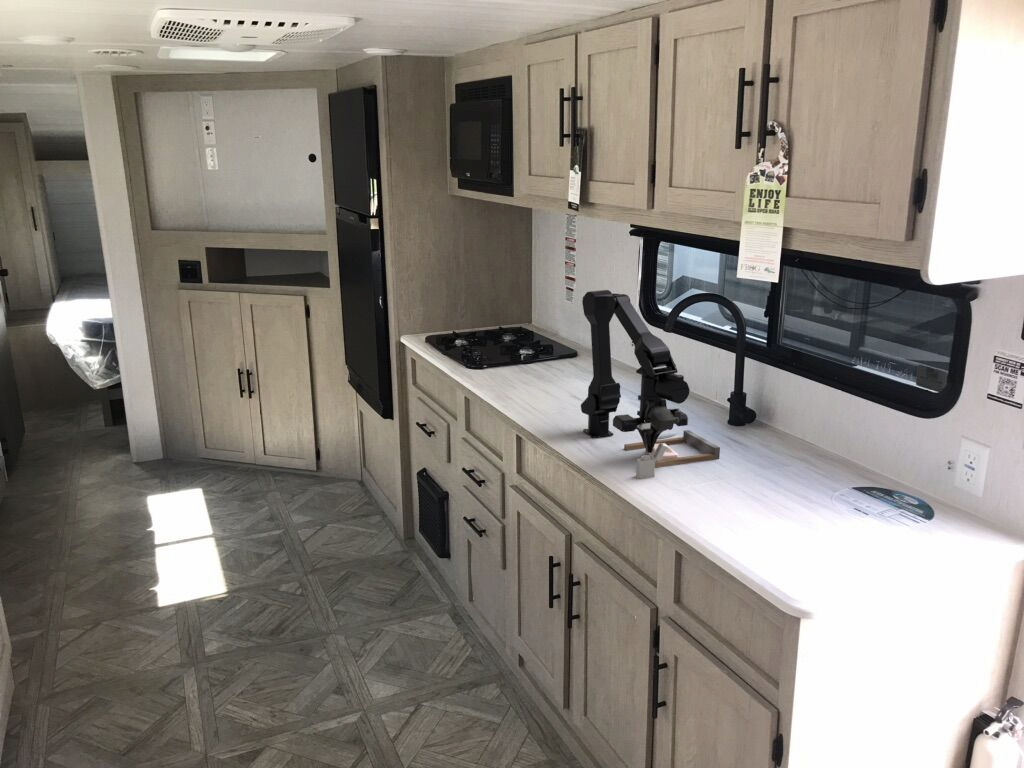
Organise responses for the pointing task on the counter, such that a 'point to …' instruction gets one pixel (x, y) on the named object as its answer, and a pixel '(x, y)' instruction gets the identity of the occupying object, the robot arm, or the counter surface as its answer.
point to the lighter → (649, 462)
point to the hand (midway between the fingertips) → (648, 452)
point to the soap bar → (667, 454)
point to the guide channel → (690, 438)
